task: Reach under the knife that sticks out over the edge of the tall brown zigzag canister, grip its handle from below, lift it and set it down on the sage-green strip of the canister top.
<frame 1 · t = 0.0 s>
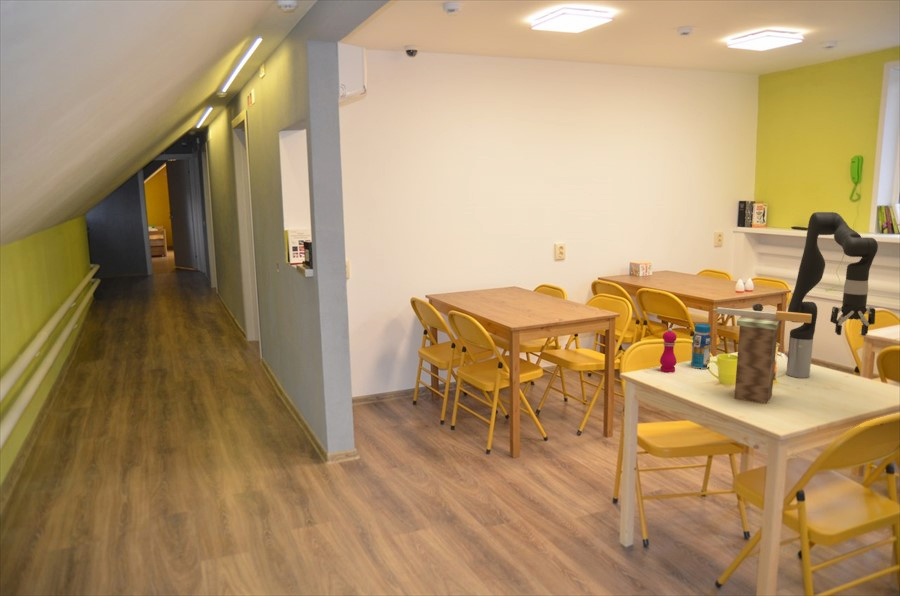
hand: (850, 334, 243), 29 cm above the table, tool pointing down, fingers open, 8 cm apart
brown zigzag canister: (769, 396, 265), on the table
blue snack canister: (700, 367, 306), on the table
knife: (776, 319, 259), point 32 cm above the table, touching brown zigzag canister
pepper mill: (667, 371, 300), on the table
toy vending machine: (754, 361, 316), on the table
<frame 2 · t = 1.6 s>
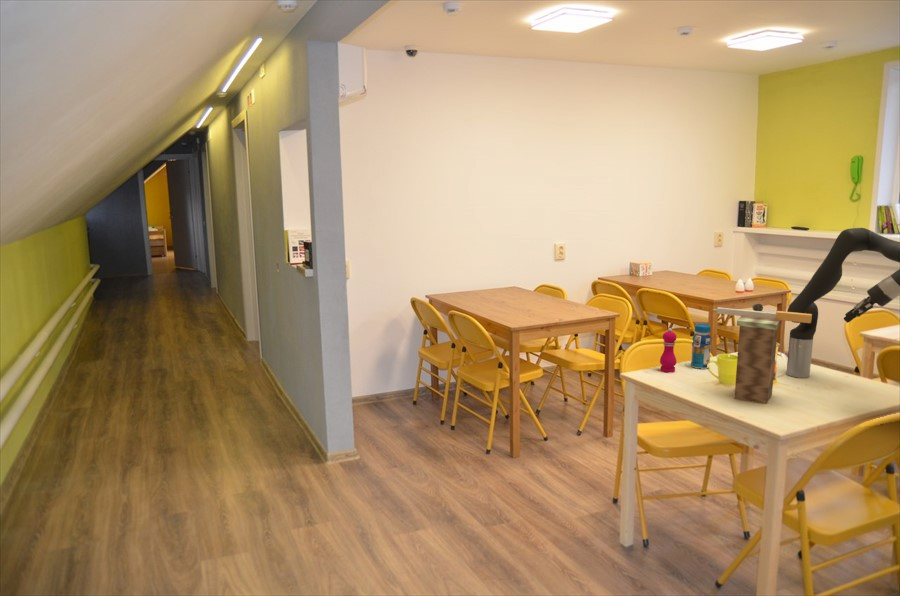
hand: (846, 318, 245), 35 cm above the table, tool tilted 45°, fingers open, 8 cm apart
nothing on the table moved.
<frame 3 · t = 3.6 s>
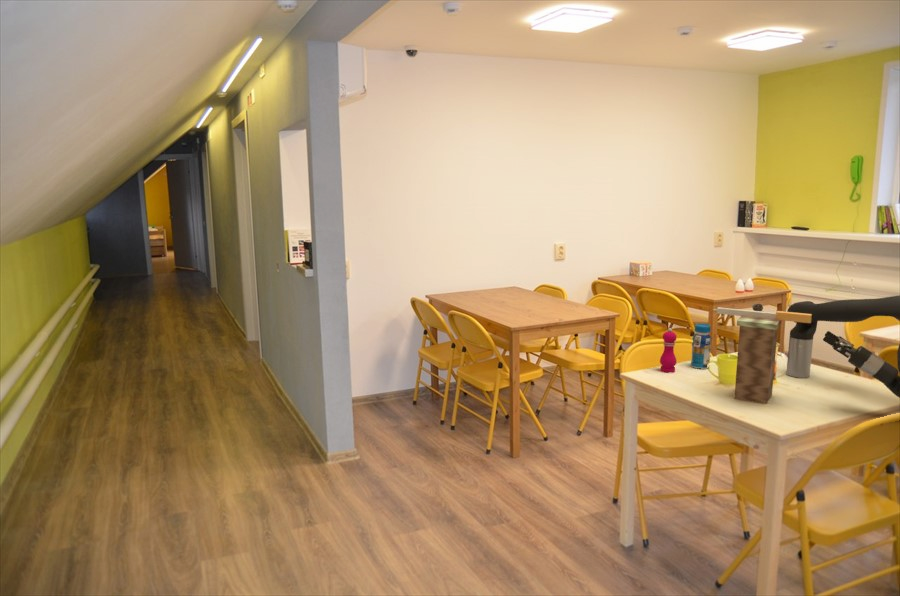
hand: (825, 335, 250), 28 cm above the table, tool pointing upward, fingers open, 8 cm apart
nothing on the table moved.
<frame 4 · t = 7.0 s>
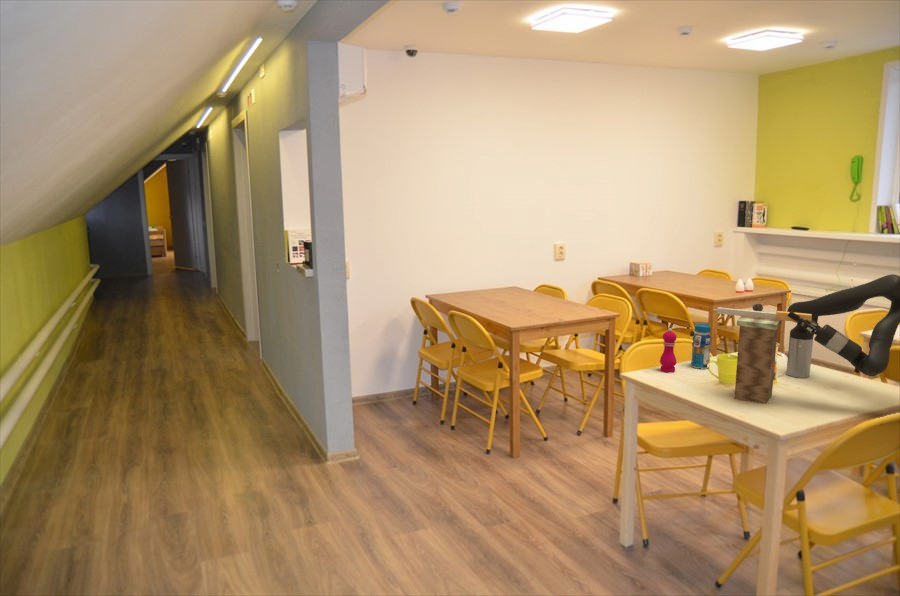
hand: (789, 312, 256), 35 cm above the table, tool pointing upward, fingers closed on knife, 3 cm apart
knife: (776, 318, 259), point 32 cm above the table, touching gripper, brown zigzag canister
everything else where it was.
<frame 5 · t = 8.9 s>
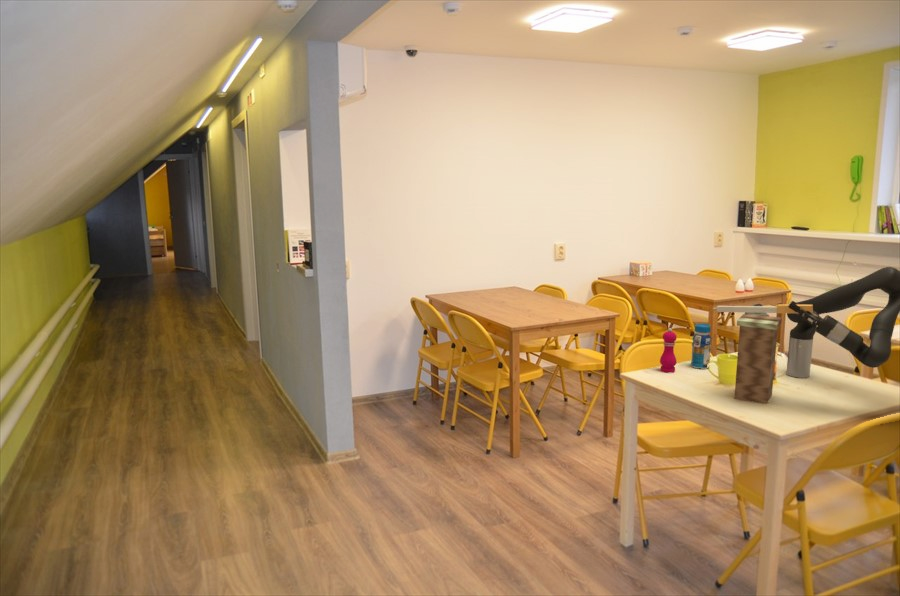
hand: (790, 303, 253), 39 cm above the table, tool pointing upward, fingers closed on knife, 3 cm apart
knife: (777, 312, 256), point 35 cm above the table, tilted 5°, touching gripper
everything else where it was.
when the fingers open (36 cm above the table, at t = 11.1 s): knife stays where it is, resting on brown zigzag canister.
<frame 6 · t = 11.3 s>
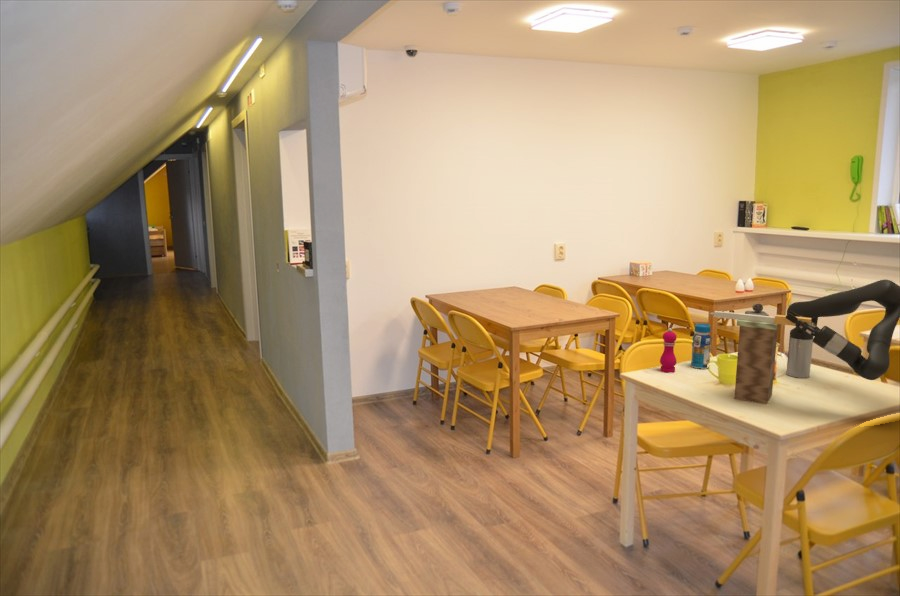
hand: (787, 314, 249), 36 cm above the table, tool pointing upward, fingers open, 4 cm apart
knife: (774, 322, 252), point 32 cm above the table, touching brown zigzag canister
everything else where it was.
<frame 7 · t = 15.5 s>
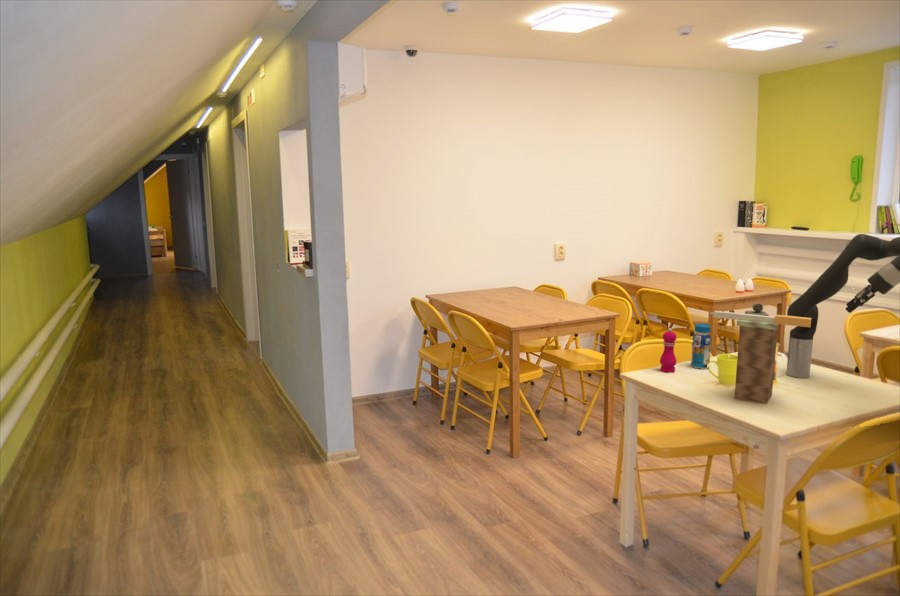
hand: (847, 308, 240), 40 cm above the table, tool tilted 40°, fingers open, 8 cm apart
nothing on the table moved.
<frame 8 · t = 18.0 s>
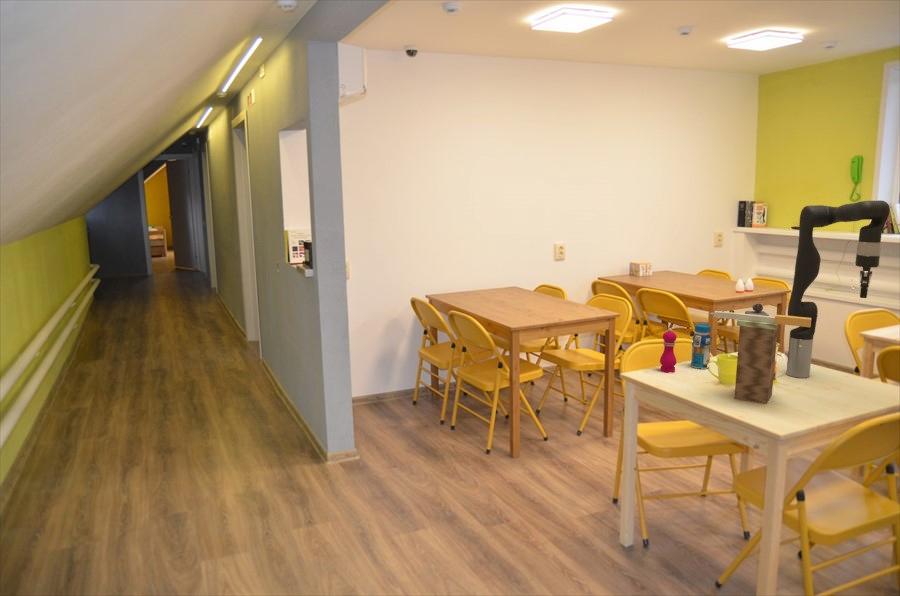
hand: (863, 296, 251), 42 cm above the table, tool pointing down, fingers open, 8 cm apart
nothing on the table moved.
at the end: knife 0.5 cm from the target spot, point 32.0 cm above the table; knife touching brown zigzag canister; the gripper is holding nothing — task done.
